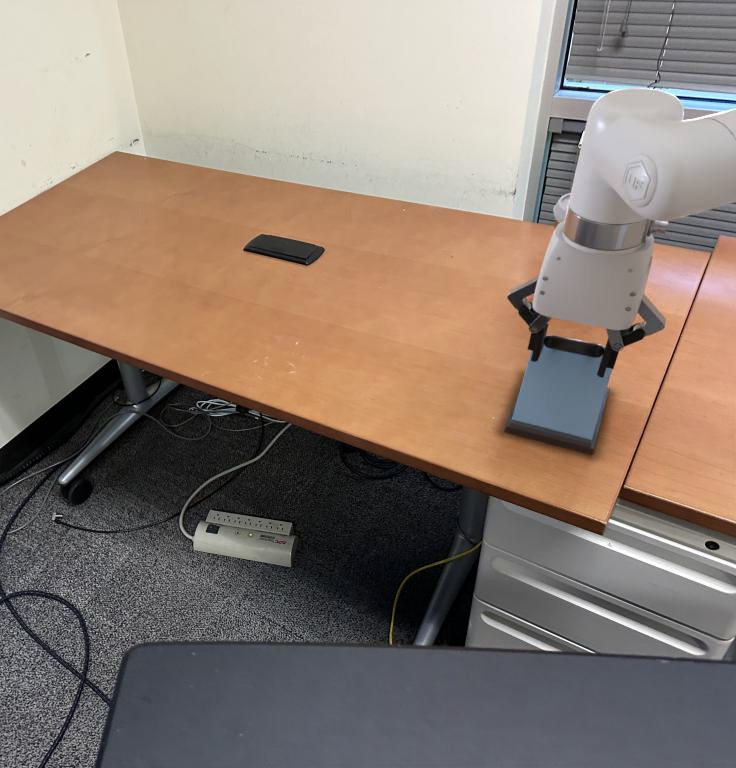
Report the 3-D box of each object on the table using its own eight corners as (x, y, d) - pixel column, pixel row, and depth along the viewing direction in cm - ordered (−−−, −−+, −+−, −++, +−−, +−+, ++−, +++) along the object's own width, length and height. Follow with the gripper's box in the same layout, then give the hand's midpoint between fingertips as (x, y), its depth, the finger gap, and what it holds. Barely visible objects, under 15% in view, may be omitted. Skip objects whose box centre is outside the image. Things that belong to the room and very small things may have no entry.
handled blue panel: (536, 333, 84) (534, 328, 80) (617, 350, 80) (619, 345, 76) (512, 419, 85) (508, 419, 81) (591, 440, 81) (592, 440, 77)
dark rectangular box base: (526, 375, 93) (528, 364, 92) (608, 393, 88) (611, 382, 87) (504, 431, 85) (506, 421, 84) (592, 455, 81) (595, 444, 80)
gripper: (711, 219, 66) (657, 361, 78) (524, 195, 74) (500, 327, 86) (704, 257, 62) (648, 402, 73) (505, 227, 70) (483, 362, 81)
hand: (569, 361), depth 80 cm, fingers closed on handled blue panel, 6 cm apart
